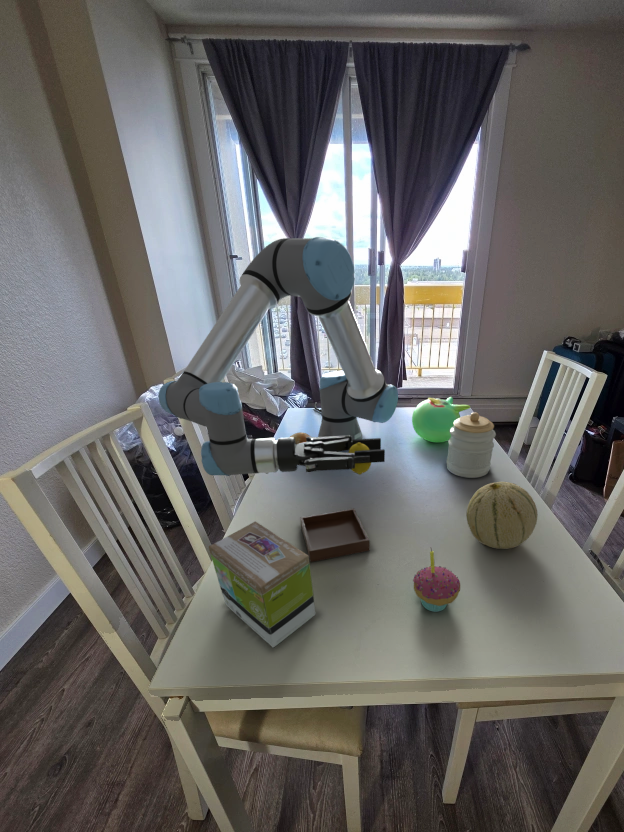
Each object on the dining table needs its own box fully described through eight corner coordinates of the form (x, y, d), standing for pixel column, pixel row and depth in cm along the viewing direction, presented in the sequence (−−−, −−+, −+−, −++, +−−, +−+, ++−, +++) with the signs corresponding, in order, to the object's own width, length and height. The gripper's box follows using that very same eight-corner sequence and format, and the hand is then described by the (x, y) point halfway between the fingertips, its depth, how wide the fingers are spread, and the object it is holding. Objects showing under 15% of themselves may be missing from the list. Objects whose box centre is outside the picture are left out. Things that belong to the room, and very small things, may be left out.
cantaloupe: (541, 559, 87) (558, 500, 79) (476, 566, 86) (486, 506, 78) (512, 520, 100) (524, 465, 92) (454, 525, 98) (461, 470, 90)
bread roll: (305, 453, 140) (295, 431, 138) (325, 447, 134) (315, 424, 132) (285, 464, 133) (274, 442, 131) (306, 459, 127) (295, 435, 124)
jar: (498, 473, 120) (509, 416, 111) (462, 482, 116) (470, 424, 106) (471, 455, 130) (479, 402, 121) (437, 463, 126) (442, 408, 116)
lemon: (369, 481, 92) (368, 448, 87) (345, 478, 93) (343, 446, 88) (373, 470, 96) (373, 438, 92) (351, 467, 97) (350, 436, 93)
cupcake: (402, 601, 77) (405, 552, 71) (431, 580, 82) (435, 532, 76) (439, 627, 72) (445, 577, 65) (466, 602, 77) (475, 553, 70)
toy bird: (404, 432, 147) (406, 391, 139) (447, 427, 151) (451, 388, 143) (422, 452, 132) (425, 409, 125) (469, 446, 136) (475, 404, 128)
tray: (301, 527, 97) (300, 517, 96) (354, 518, 101) (354, 508, 99) (310, 562, 87) (309, 551, 85) (369, 550, 90) (369, 539, 88)
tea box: (223, 606, 76) (205, 544, 68) (267, 578, 82) (256, 518, 75) (273, 651, 68) (259, 585, 60) (317, 615, 74) (310, 552, 66)
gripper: (282, 452, 99) (377, 447, 102) (276, 491, 83) (388, 484, 86) (278, 423, 95) (377, 419, 98) (271, 458, 80) (389, 451, 82)
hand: (382, 449), depth 92 cm, fingers closed on lemon, 5 cm apart
